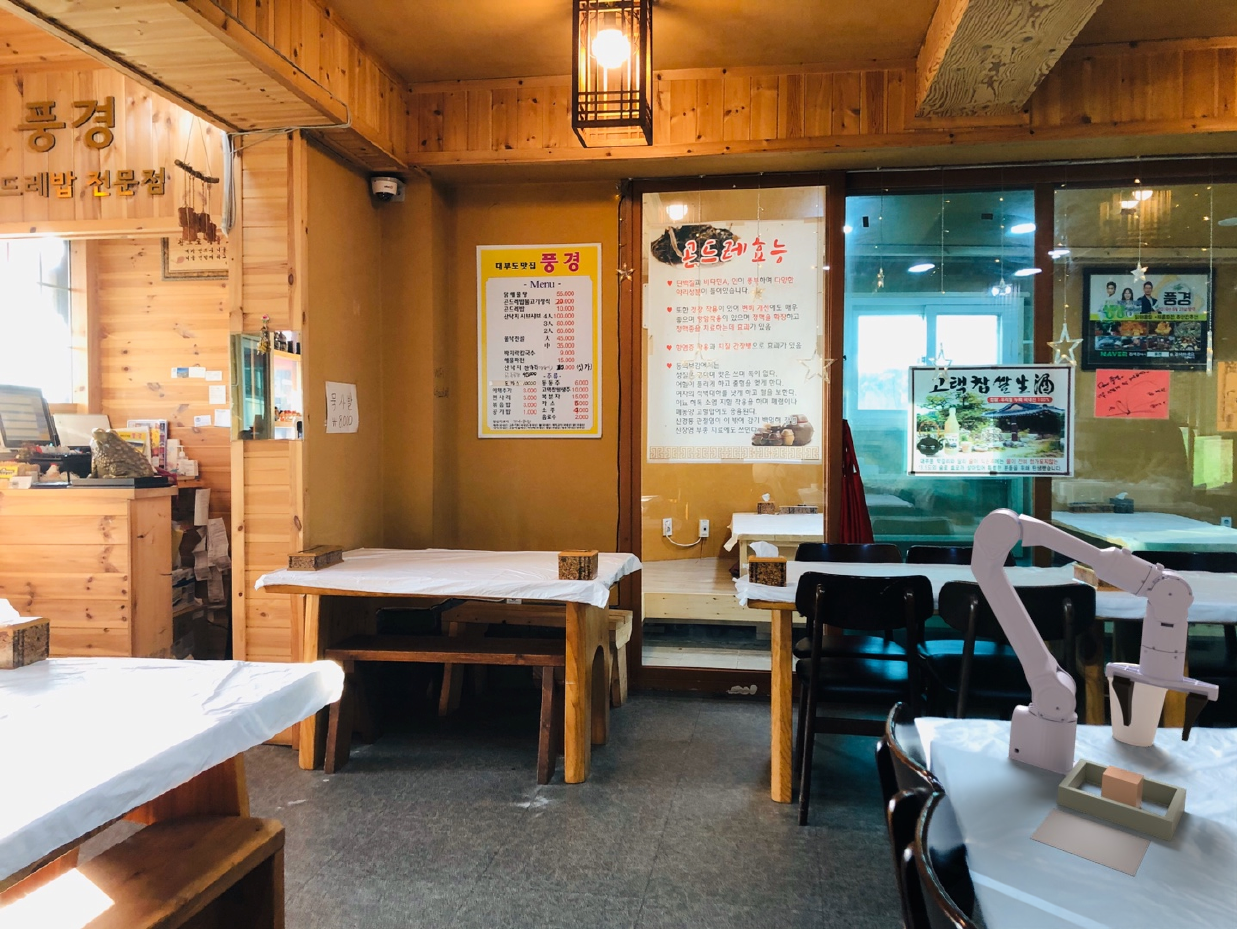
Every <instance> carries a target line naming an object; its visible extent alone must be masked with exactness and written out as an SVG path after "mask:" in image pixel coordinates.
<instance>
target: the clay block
mask: <svg viewBox="0 0 1237 929" xmlns="http://www.w3.org/2000/svg"><path fill="white" fill-rule="evenodd" d="M1108 766H1109V767H1108V768H1107V769H1106V771H1105V772H1104V773H1103V777H1102V786H1101V788H1100V789H1101V790H1100V796H1101V797H1104V798H1107V799H1110V800H1113V801H1116V802H1120V803H1123V804H1126V805H1129V806H1132V807H1135V808H1139V809H1142V800H1143V799H1142V790H1143V778H1144V777H1145V776H1144V774H1140V773H1137V772H1134V771H1130V770H1127V769H1123V768H1120V767H1116V766H1113V765H1108Z"/></svg>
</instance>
